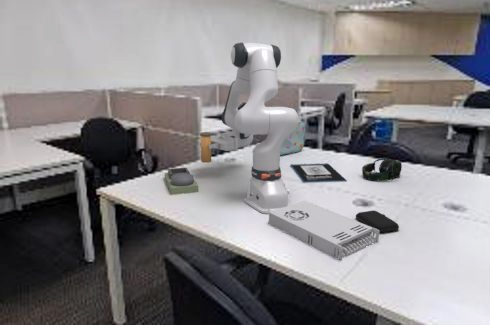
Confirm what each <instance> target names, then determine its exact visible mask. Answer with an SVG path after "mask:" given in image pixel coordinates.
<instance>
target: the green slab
mask: <svg viewBox="0 0 490 325" xmlns="http://www.w3.org/2000/svg"><path fill="white" fill-rule="evenodd" d="M194 176H195V175H194V174H192V173H191V171H190V170H189V169H188V168H187V167H178V168H168V169H167V172H164V180H165V182H167V183H166V185H167V187H169V188H168V189H169V192H170V194H171V196H173V194H174V195H183V194H182V193H184V194H191V193H192V194H193V193H199V184H198V182H197V181H196V180H195V178H194Z"/></svg>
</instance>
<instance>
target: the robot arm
mask: <svg viewBox="0 0 490 325" xmlns="http://www.w3.org/2000/svg"><path fill="white" fill-rule="evenodd" d="M230 59H231V63H232V65H233V66H234V67H236V68H237V71H236V77H235V80H234V81H232V83H231V85H230V87H229V90H228V94H227V98H226V102H225V105H224V109H223V112H221V123H223V125H225V126H226V127H228V128H230V129H232V130H231V131H228V132H222V133H220V134H219V136H217V137H216V136H213V135H211V144H209V145H208V148H210V149H211V150H212V149H217V150H221V151H226V152H228V151H229V152H231V151H233V152H235V151H238V150H239V149H238V148H243V147H246V146H249V145H250V144H252V142H253V140H254V135H255V136H256V135H257V136H258V135H265V136H266V135H267V137H266V138H265V139H264V140H262V141H261V142H259V143H258V144H256V145H255V147H254V148H253V149H252V166H251V178H250V179H249V181H248V185H247V194H246V196H247V197H245V198H244V200H243V202H244V203H246V204H247V205H248V206H250V207H252V208H253V209H254V210H256V211H258V212H259V213H261V214H267V215H269V212H271V211H274V210H277V209H280V208H283V207H287V206H290V205H293V203H292V202H291V200H290V199H289V195H290V189H289V188H286V183H284V181H283V179H282V170H281V167H280V165H281V164H280V162H281V155H280V153H281V148H282V145H283V143H284V141H285V140H286V138H287V137H288V136H289V135H290V134H291V133H293V132H294V131H295V130H296V128H297V127H298V124H299V121H300V117H299V114H298V112H297V111H296V110H295V109H294V108H291V107H286V106H265V103H267V102H268V101H270V100H272V99H273V98H274V97H276V96H277V94H278V92H279V84H278V74H277V73H278V70H277V68H278V67H279V66H280V64H281V60H282V52H281V49H280V47H279V46H277V45H275V44H266V43H260V42H259V43H258V42H237V43H235V44H233V45H232V49H231V51H230ZM248 94H249V97H248V99H247V101H246V103H245V104H244V105H243V106H242V107H241V108H240V109H238V104H239V101H240V100H239V99H240V97H241V95H248ZM199 146H200V147H201V141H200V142H199Z"/></svg>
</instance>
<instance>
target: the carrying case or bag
mask: <svg viewBox="0 0 490 325" xmlns="http://www.w3.org/2000/svg"><path fill="white" fill-rule="evenodd" d="M355 218H356V220H357V221H358V222H360V223H363V224H365V225H368V226H370V227H373V228H375V229H378V230H379V231H380V232H379V234H384V233H385V232H386V233H391V231H392V232H396V231H397V230H399V228H400V225H399V224H398V223H397V222H396V221H394V220H393V219H391V218H389V217H388V216H386V215H385V214H384V213H380V211H377V210H368V211H367V210H366V211H359V212H357V213H356V214H355Z"/></svg>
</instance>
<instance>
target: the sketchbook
mask: <svg viewBox="0 0 490 325" xmlns="http://www.w3.org/2000/svg"><path fill="white" fill-rule="evenodd" d="M290 168H291V169H292V170H293V172H294V173H295V174H296V175H297V177H298V178H299V179H300V181H301V182H302V183H303V184H315V183H318V184H319V183H321V184H322V183H347V182H348V180H347V179H346V178H345V177H344V176H343V175H342V174H341V173H339V172H338V171H337V170H336V169H335V168H334V167H332V165H330V163H328V162H322V163H320V162H318V163H317V162H316V163H305V162H304V163H291V164H290Z"/></svg>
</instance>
